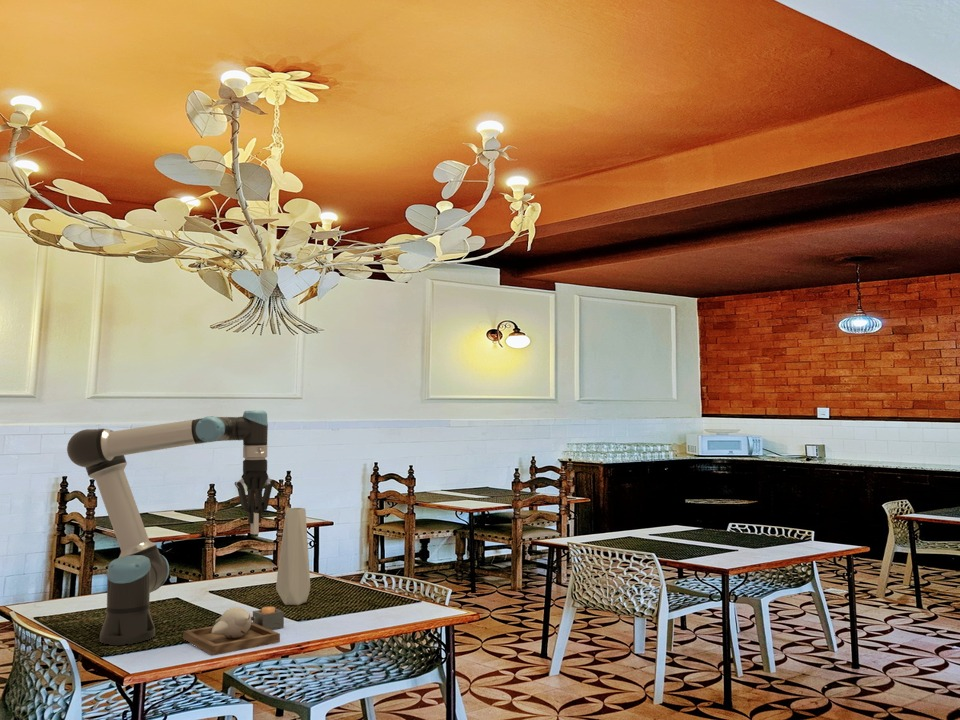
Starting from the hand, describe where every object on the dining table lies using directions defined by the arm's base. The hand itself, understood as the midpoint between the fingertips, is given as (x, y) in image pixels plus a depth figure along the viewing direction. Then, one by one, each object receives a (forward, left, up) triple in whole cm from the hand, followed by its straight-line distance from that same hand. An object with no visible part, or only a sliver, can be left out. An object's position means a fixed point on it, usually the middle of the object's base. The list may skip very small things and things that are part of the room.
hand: (254, 533), depth 260 cm
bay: (-13, -13, -28) cm, 34 cm away
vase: (+25, +20, -29) cm, 43 cm away
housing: (+2, -6, -28) cm, 29 cm away
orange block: (+2, -6, -27) cm, 28 cm away
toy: (-12, -12, -28) cm, 33 cm away
